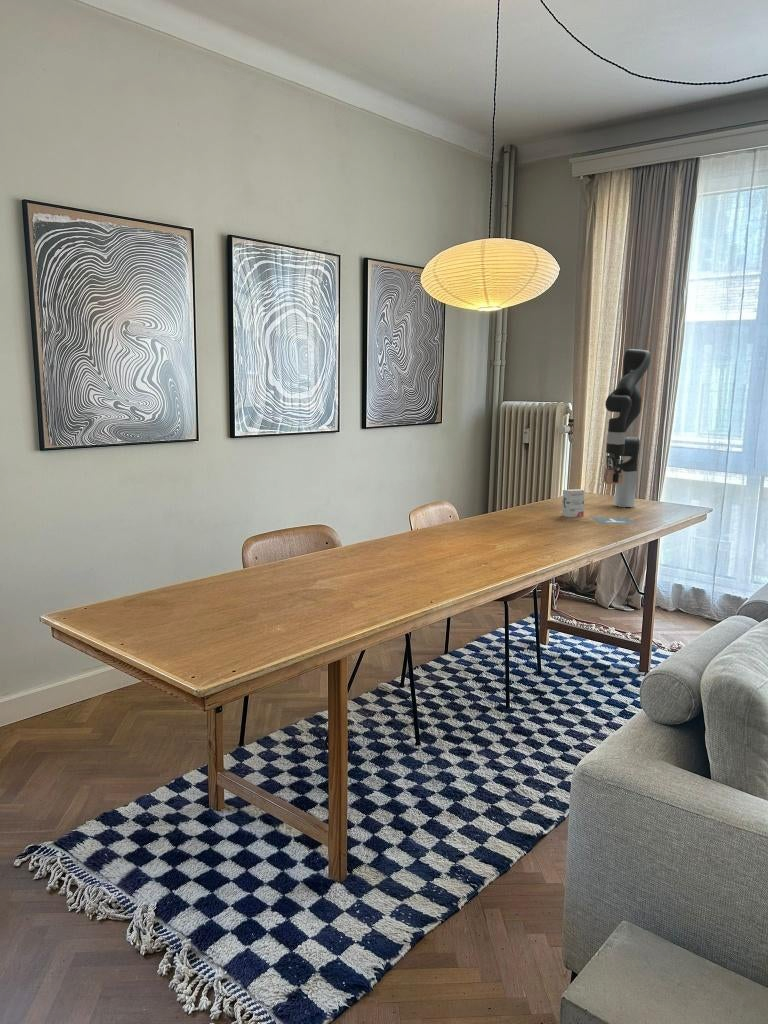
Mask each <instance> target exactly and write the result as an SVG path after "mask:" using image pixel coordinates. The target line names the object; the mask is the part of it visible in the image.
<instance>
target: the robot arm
mask: <svg viewBox="0 0 768 1024" xmlns="http://www.w3.org/2000/svg"><path fill="white" fill-rule="evenodd" d="M651 357H652V356H651V352H650V351H649V350H646V349H645V350H644V349H636V348H635V349H634V348H629V349H626V350H625V352H624V355H623V361H622V363H623V364H622V368H623V369H622V378H621V379H620V380H619V382H618V384H617V386H616V388H615V389H614V390H613V391H612V392H611V393H610V394H609V395H608V396H607V397H606V399H605V405H604V406H605V408H606V410H607V411H608V412H612V413H619V415H618V416H616V417H611V418H609V420H608V426H607V427H608V429H607V435H606V445H605V446H606V448H605V453H606V454H608V455H606V463H605V465H606V467H605V468H612V469H613V482H614V483H617V482H618V478H619V474H620V473H621V471H622V470H623V477H622V484H615V492H614V503H613V504H614V506H615V507H617V506H618V508H625V507H631V508H634V507H635V502H636V489H637V480H638V479H637V478H638V477H637V476H638V465H639V464H638V462H639V454H640V447H641V441H640V438H639V437H637V436H626V432H627V430H628V428H629V427H630V426H631V424H632V423H633V422H634V421H635V420H636V419H637V418H638V416H639V415H640V412H641V408H642V402H643V401H642V399H643V398H642V394H641V392H640V391H639V389H638V387H637V384H638V382H640V380H641V379H642V378H643V376H644V375H645V373H646V372H647V370H648V369H649V366H650V364H651ZM621 457H630V458H629V459H628V460H627V461H624V460H623V459H621ZM623 461H624V462H623ZM617 469H618V470H617Z"/></svg>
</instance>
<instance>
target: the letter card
mask: <svg viewBox="0 0 768 1024" xmlns="http://www.w3.org/2000/svg"><path fill="white" fill-rule="evenodd" d="M621 517H622V518H621ZM589 518H591V519H592V520H594V521H595V522H597V523H598V524H600V525H638V523H636V522H635V521H633V520H631V519H629V518H628V517H626V516H589Z"/></svg>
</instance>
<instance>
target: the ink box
mask: <svg viewBox="0 0 768 1024" xmlns="http://www.w3.org/2000/svg"><path fill="white" fill-rule="evenodd" d="M561 501H562V504H561V516H563V517H566V518H575V517H584V511H585V508H584V507H585V506H584V505H585V490H584V489H580V488H579V489H563V490H562V500H561Z"/></svg>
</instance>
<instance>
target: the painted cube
mask: <svg viewBox="0 0 768 1024" xmlns="http://www.w3.org/2000/svg"><path fill="white" fill-rule="evenodd" d="M617 470H618V469H617ZM622 477H623V470H622V471H621V473H620V474H619V478H618V482H617V483H614V482H613V469H612V468H606V467H605V468H604V473H603V483H605V484H607V485H616V484H622Z"/></svg>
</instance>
